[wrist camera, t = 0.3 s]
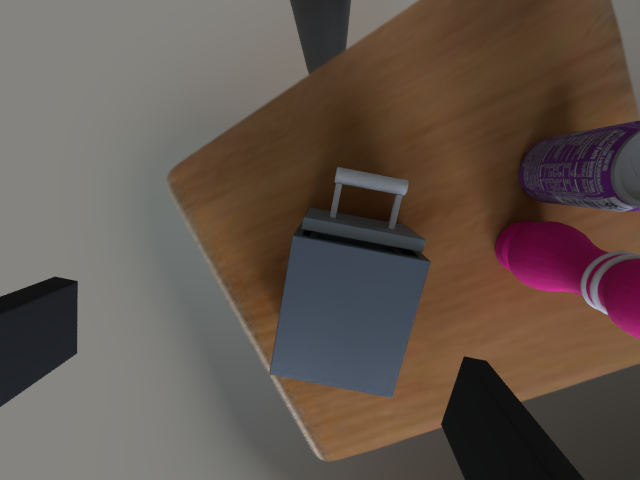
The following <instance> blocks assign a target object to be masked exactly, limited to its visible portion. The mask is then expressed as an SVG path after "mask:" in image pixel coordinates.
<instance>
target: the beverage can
mask: <svg viewBox="0 0 640 480" xmlns="http://www.w3.org/2000/svg"><path fill="white" fill-rule="evenodd" d="M519 176H520V182H521V185H522V188H523V189H524V191H525V192H526V193H527V194H528V195H529V196H530V197H531V198H533V199H535V200H537V201H540V202H546V203H554V204H562V205H570V206H579V207H587V208H595V209H603V210H612V211H620V212H632V211H639V210H640V121H635V122H630V123H624V124H619V125H614V126H608V127H603V128H598V129H592V130H587V131H582V132H576V133H571V134H566V135H560V136H555V137H550V138H547V139H544V140H542V141H540V142H538V143H537V144H535V145H534V146H533V147H532V148H531V149H530V150H529V151H528V152H527V154H526V155H525V157H524V159H523V161H522V163H521V166H520V173H519Z"/></svg>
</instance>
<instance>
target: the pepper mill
mask: <svg viewBox="0 0 640 480" xmlns="http://www.w3.org/2000/svg"><path fill="white" fill-rule="evenodd" d="M495 252H496V256H497V259H498V261H499V262H500V264H501V265H502V266H503V267H505V268H506V269H508V270H510V271H512V273H513V274H514V275H515V277H516V278H517V279H518V280H520V281H521V282H522V283H524V284H526V285H528V286H531V287H533V288H536V289H538V290H544V291H550V292H560V291H569V292H574V293H577V294H580V295H582V296H583V297H584V299H585V300H586V302H587V303H588V304H589V305H591V306H592V307H594V308H595V309H598V310H600V311H602V312H603V313H605V314H607V315H608V316H609V317H610V318H611V320H612V321H613V322H614V323H615V324H616V325H617V326H619V327H620V328H621V329H622V330H624V331H625V332H627V333H629V334H630V335H632V336H634V337H637V338H639V339H640V255H639V254H634V253H631V252H626V251H615V252H610V253H608V252H606V251H603V250H601V249H599V248H598V247H596V246H595V245H594V244H593V243H592V242H591V241H590V240H589V239H588V238H587V236H586V235H584V234H583V233H582V232H580V231H579V230H577V229H575V228H573V227H571V226H569V225H565V224H562V223H559V222H540V223H537V222H532V221H520V222H516V223H514V224H512V225H510V226H508V227H507V228H506V229H505V230H504V231H503V232H502V233H501V234H500V236H499V237H498V239H497V242H496V247H495Z"/></svg>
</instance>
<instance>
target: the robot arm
mask: <svg viewBox="0 0 640 480" xmlns="http://www.w3.org/2000/svg"><path fill="white" fill-rule="evenodd" d="M77 288H78V282H77V281H74V280H69V279H64V278H59V277H53V278H50V279H48V280H45V281H42V282H40V283H37V284H34V285H31V286H28V287H26V288H23V289H20V290H18V291H15V292H12V293H10V294H7V295H4V296H1V297H0V407H1V406H2V405H4V404H5V403H7V402H8V401H9V400H11V399H12V398H14V397H15V396H17V395H18V394H19V393H21V392H22V391H24V390H25V389H27V388H28V387H29V386H31V385H32V384H34V383H35V382H37V381H38V380H39V379H41V378H42V377H44V376H45V375H47V374H48V373H50V372H51V371H52V370H54V369H55V368H57V367H58V366H60V365H61V364H62V363H64V362H65V361H67V360H68V359H70V358H71V357H73V356H74V355H75V354H77V293H78V291H77V290H78V289H77ZM441 425H442V428H443V430H444V432H445V434H446V437H447V439H448V441H449V444H450V446H451V448H452V451H453V453H454V455H455V458H456V460H457V462H458V464H459V467H460V469H461V471H462V474H463V476H464V478H465V480H584V479H583V477H582V476H581V475H580V474H579V473H578V471H577V470H576V469H575V468H574V466H573V465H572V464H571V463H570V462H569V460H568V459H567V458H566V457H565V456H564V455H563V453H562V452H561V451H560V450H559V448H558V447H557V446H556V445H555V443H554V442H553V441H552V440H551V439H550V437H549V436H548V435H547V434H546V432H545V431H544V430H543V429H542V428H541V426H540V425H539V424H538V423H537V422H536V420H535V419H534V418H533V417H532V416H531V414H530V413H529V412H528V411H527V410H526V408H525V407H524V406H523V405H522V403H521V402H520V401H519V400H518V398H517V397H516V396H515V395H514V394H513V392H512V391H511V390H510V389H509V388H508V386H507V385H506V384H505V383H504V382H503V380H502V379H501V378H500V377H499V375H498V374H497V373H496V372H495V371H494V369H493V368H492V367H491V366H490V365H489V363H488V362H487V361H484V360H479V359H474V358H469V357H464V358H463V361H462V364H461V367H460V370H459V373H458V376H457V379H456V382H455V385H454V388H453V391H452V394H451V397H450V400H449V402H448V405H447V408H446V411H445V414H444V417H443V420H442V423H441Z"/></svg>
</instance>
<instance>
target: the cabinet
mask: <svg viewBox="0 0 640 480" xmlns="http://www.w3.org/2000/svg"><path fill="white" fill-rule="evenodd" d="M302 222H303V221H302ZM302 222H301V224H300V226H299V227H298V229H297V230H296V232H295V233H294V235H293V237H292V243H291V249H290V255H289V261H288V267H287V273H286V279H285V285H284V291H283V297H282V303H281V309H280V314H279V320H278V326H277V332H276V338H275V344H274V350H273V356H272V362H271V368H270V375H275V376H280V377H285V378H290V379H296V380H301V381H306V382H311V383H317V384H322V385H327V386H332V387H338V388H343V389H348V390H353V391H359V392H364V393H369V394H374V395H379V396H385V397H390V398H392V397H393V393H394V390H395V386H396V383H397V379H398V376H399V372H400V368H401V365H402V361H403V358H404V354H405V351H406V347H407V344H408V340H409V336H410V333H411V329H412V326H413V322H414V319H415V315H416V311H417V308H418V304H419V301H420V297H421V294H422V290H423V287H424V283H425V279H426V276H427V272H428V269H429V265H430V261H429V260H428V259H427V258H426V257H425V256H424V255H423V254H422V253H420V252H419V251H414V250H408V249H403V248H398V247H397V248H398V249H399V251H400V252H401V253H402V254H398V253H392V252H387V251H382V250H377V249H371V248H366V247H361V246H356V245H350V244H345V243H340V242H335V241H329V240H324V239H319V238H313V237H309V236H310V234H311V231H308V230H303V229H302Z"/></svg>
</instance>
